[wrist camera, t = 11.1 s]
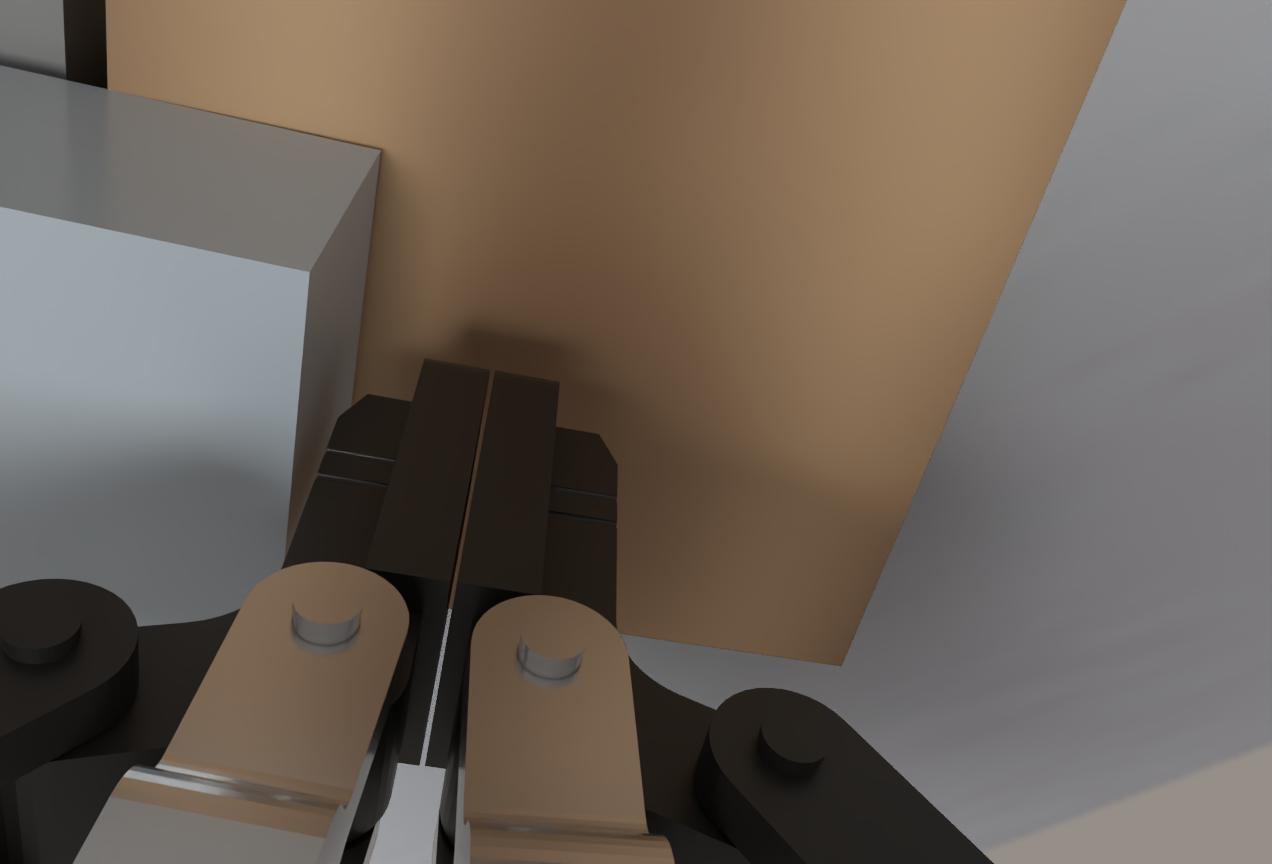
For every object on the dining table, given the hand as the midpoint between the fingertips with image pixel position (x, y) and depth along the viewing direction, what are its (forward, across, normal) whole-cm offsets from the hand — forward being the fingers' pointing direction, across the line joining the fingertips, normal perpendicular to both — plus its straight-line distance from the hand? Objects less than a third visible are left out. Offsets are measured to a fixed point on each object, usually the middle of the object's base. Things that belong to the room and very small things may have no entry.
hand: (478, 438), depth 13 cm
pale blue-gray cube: (+1, +4, 0) cm, 4 cm away
